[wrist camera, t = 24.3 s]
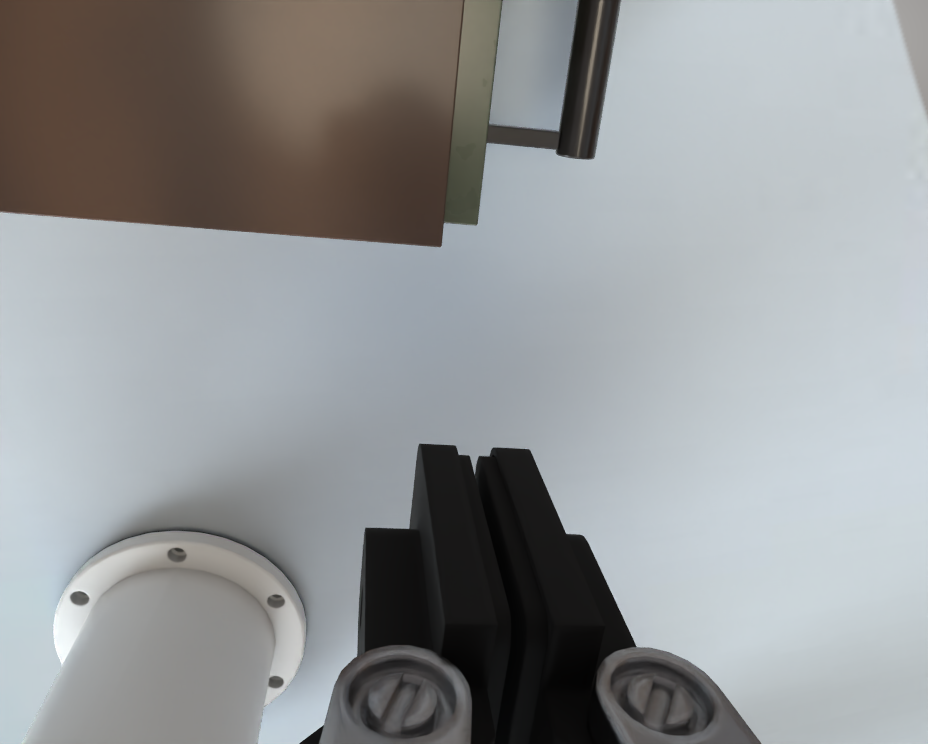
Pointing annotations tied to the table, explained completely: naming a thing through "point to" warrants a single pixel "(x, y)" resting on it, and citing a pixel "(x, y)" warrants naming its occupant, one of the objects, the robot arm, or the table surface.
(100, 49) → the cabinet
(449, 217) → the drawer
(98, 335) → the table surface
